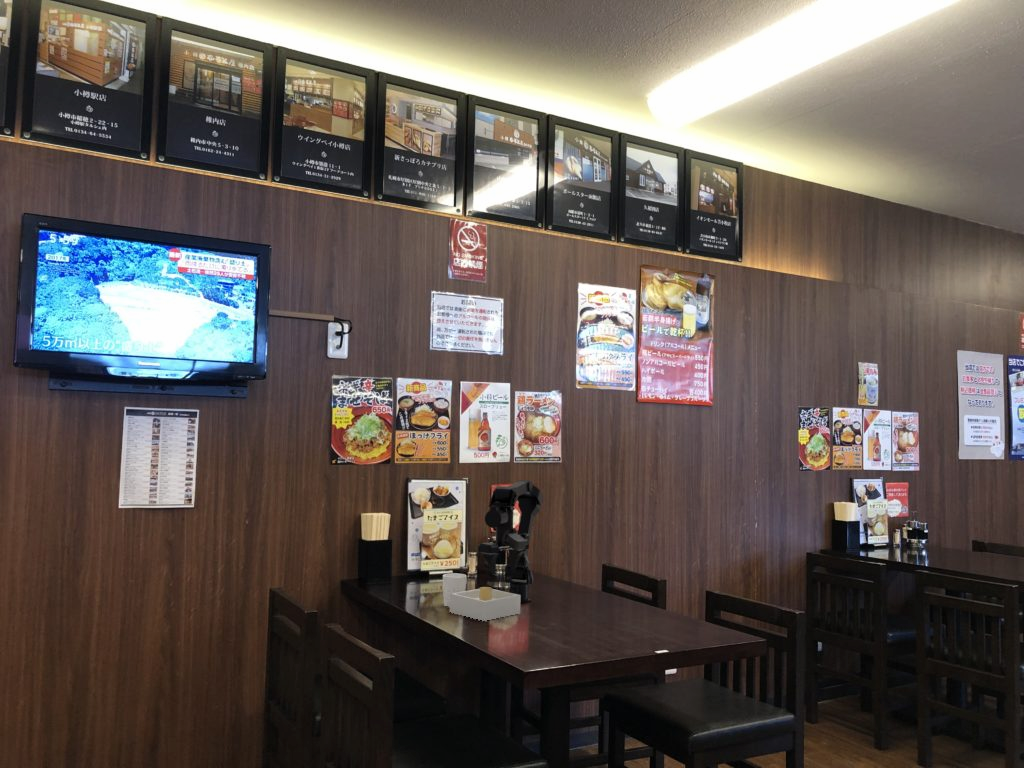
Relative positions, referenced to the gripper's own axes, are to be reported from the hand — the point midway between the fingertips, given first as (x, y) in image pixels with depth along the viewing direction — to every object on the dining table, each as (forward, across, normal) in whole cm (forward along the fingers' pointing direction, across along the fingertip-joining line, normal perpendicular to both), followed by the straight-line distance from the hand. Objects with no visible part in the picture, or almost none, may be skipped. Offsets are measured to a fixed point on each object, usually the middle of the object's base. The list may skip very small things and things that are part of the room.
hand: (503, 572), depth 264 cm
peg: (+12, -8, 0) cm, 14 cm away
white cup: (+12, -8, +15) cm, 21 cm away
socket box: (+12, -8, 0) cm, 14 cm away
